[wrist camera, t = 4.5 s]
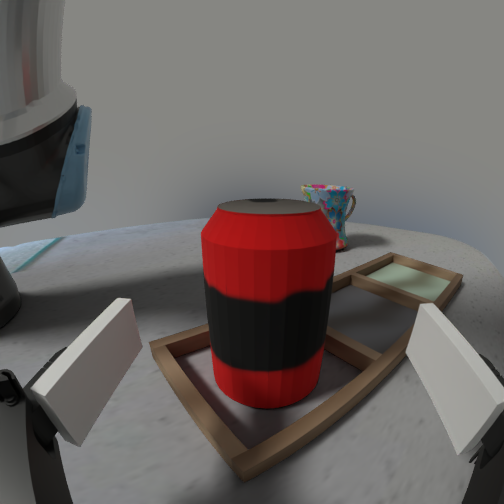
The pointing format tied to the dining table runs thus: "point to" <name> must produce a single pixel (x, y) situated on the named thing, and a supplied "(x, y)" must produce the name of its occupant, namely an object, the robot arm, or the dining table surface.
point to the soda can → (268, 297)
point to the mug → (332, 206)
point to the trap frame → (337, 342)
